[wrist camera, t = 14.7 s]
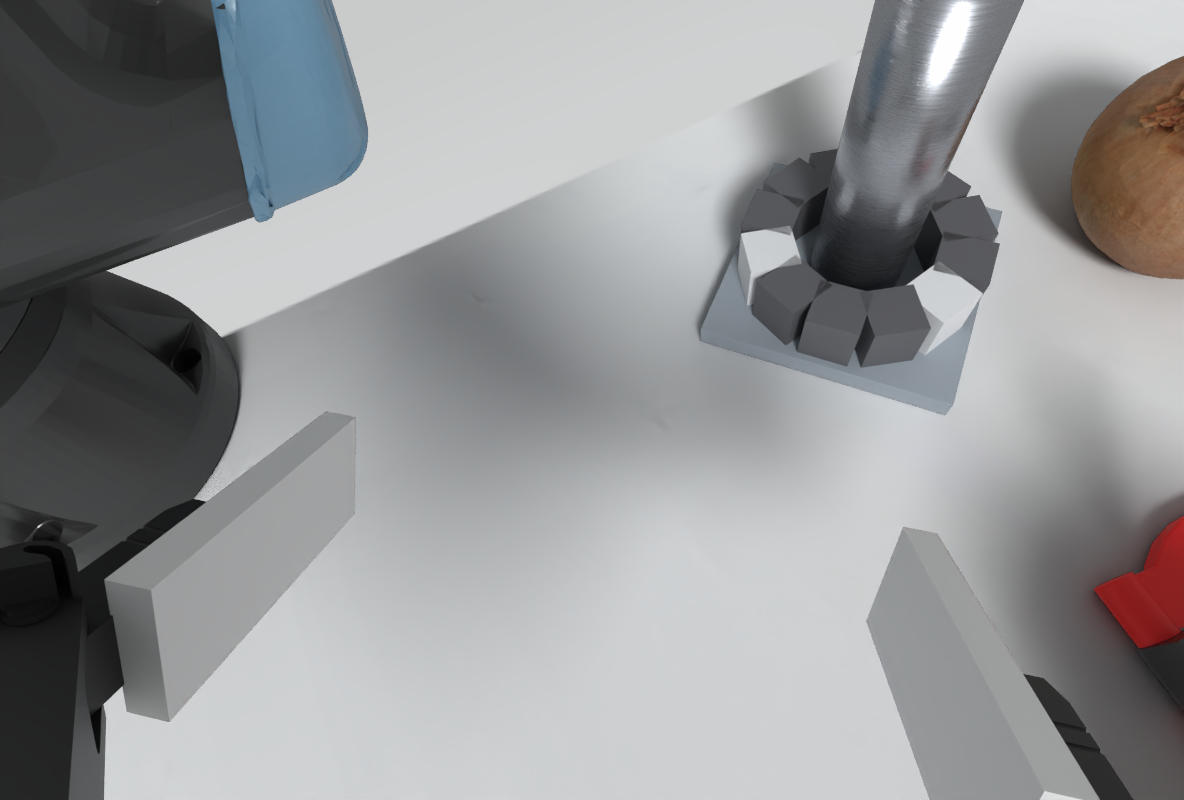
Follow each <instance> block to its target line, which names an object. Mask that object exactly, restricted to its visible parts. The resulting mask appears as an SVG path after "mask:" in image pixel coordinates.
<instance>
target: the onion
mask: <svg viewBox="0 0 1184 800" xmlns="http://www.w3.org/2000/svg"><path fill="white" fill-rule="evenodd" d="M1071 189H1072V201H1073V205H1074V209H1075V212H1076V215H1077V217H1078V220H1079V223H1080V225H1081V227H1082V229H1083V230H1084V232H1085V233H1086V235H1087V237H1088V238H1089V239H1090V240H1091V241H1092V243H1093V244H1094V245H1095V246H1096V247H1097V248H1098V249H1099V250H1101V251H1102V252H1103V253H1105V254H1106V255H1107V256H1108V257H1110V258H1111V259H1112V260H1114V261H1115V262H1117V263H1118V264H1120V265H1121V266H1123V267H1124V268H1126V269H1128V270H1131V271H1133V272H1136V273H1139V274H1143V275H1147V276H1152V277H1158V278H1170V279H1184V56H1183V57H1180V58H1177V59H1175V60H1172V61H1170V62H1168V63H1166V64H1165V65H1163V66H1161V67H1159V68H1157V69H1155V70H1153V71H1151V72H1150V73H1148V74H1146V75H1144V76H1142V77H1141V78H1139V79H1138V80H1137V81H1136V82H1134V83H1133V84H1132V85H1130V86H1129V87H1128V88H1127V89H1125V90H1124V91H1123V92H1122V93H1121V94H1119V95H1118V96H1117V97H1116V98H1115V99H1114V100H1113V101H1112V102H1111V103H1110V104H1109V105H1108V106H1107V107H1106V108H1105V110H1104V111H1103V112H1102V113H1101V114H1100V115H1099V116H1098V118H1097V119H1096V120H1095V121H1094V122H1093V124H1092V125H1091V127H1090V129H1089V130H1088V132H1087V133H1086V135H1085V137H1084V140H1083V142H1082V144H1081V146H1080V148H1079V151H1078V153H1077V156H1076V159H1075V161H1074V165H1073V170H1072V178H1071Z"/></svg>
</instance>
